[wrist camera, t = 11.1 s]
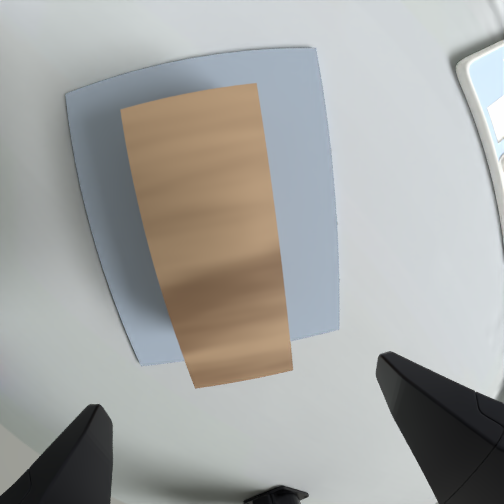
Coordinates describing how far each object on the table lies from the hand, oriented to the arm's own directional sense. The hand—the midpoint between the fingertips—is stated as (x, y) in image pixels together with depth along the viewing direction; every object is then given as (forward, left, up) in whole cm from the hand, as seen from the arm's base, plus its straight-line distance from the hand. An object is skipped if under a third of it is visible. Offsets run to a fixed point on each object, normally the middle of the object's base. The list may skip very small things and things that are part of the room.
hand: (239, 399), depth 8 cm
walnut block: (-3, +2, -7) cm, 8 cm away
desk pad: (+2, -1, -10) cm, 10 cm away
